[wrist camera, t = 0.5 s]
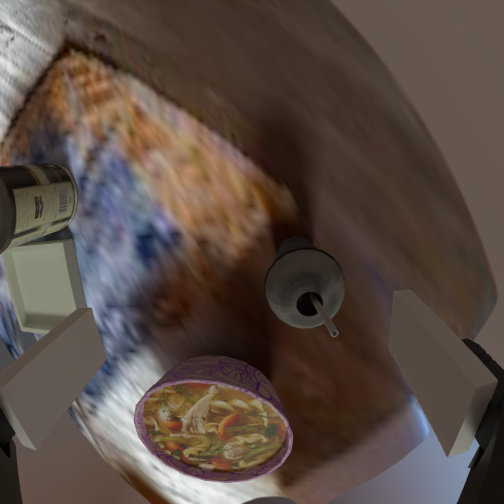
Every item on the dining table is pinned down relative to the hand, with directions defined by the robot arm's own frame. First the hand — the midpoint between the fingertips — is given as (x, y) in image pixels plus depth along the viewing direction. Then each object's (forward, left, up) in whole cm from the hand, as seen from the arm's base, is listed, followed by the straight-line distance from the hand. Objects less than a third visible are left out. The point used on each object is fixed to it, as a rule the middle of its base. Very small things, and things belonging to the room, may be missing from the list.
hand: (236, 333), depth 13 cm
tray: (+7, -34, -27) cm, 44 cm away
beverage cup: (+4, +4, -27) cm, 28 cm away
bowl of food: (+24, -7, -27) cm, 37 cm away
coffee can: (-6, -30, -27) cm, 41 cm away
